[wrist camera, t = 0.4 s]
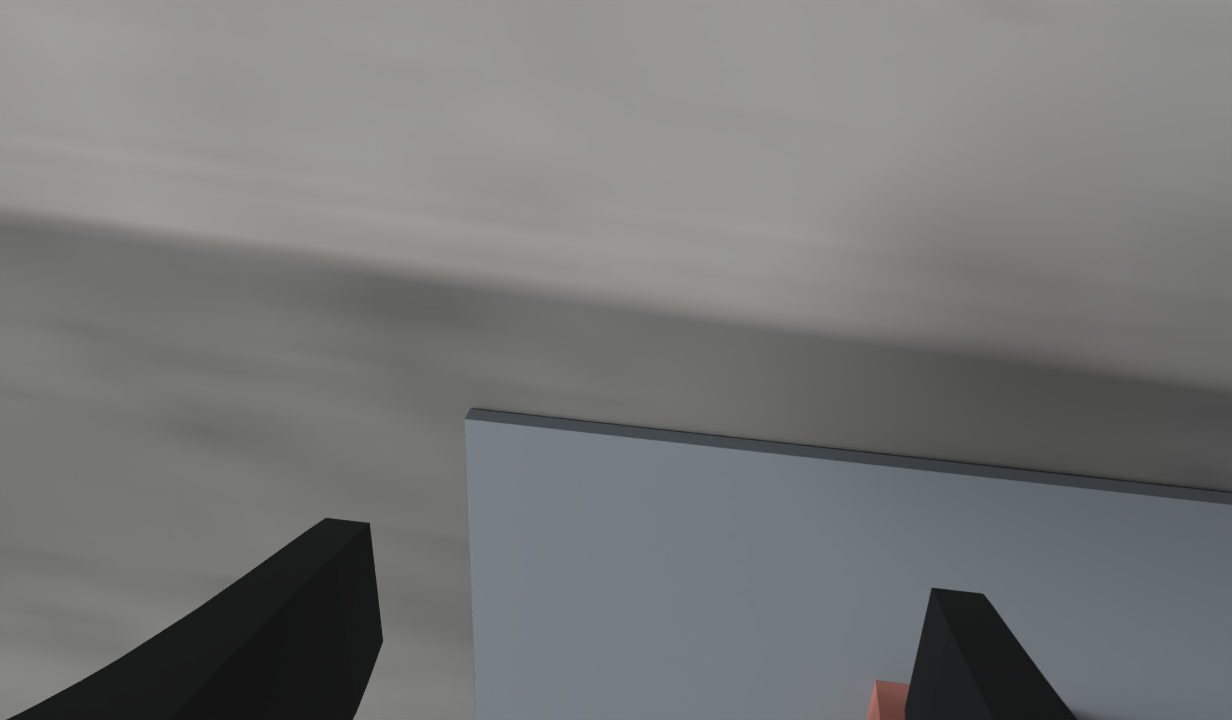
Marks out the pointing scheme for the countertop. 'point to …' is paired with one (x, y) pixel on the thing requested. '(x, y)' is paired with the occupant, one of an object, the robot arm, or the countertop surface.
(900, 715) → the birch block
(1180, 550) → the slate mat
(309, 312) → the countertop surface
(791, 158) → the countertop surface
